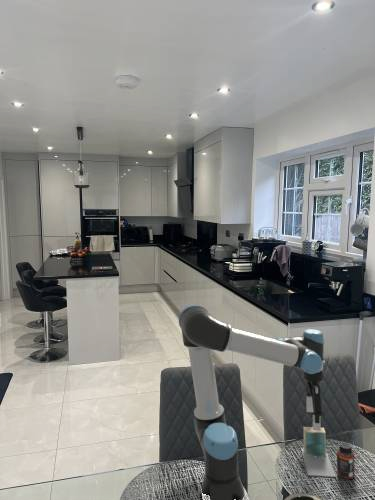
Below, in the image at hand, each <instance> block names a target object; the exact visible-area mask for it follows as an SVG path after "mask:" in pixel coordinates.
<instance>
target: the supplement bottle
mask: <svg viewBox="0 0 375 500" xmlns="http://www.w3.org/2000/svg"><path fill="white" fill-rule="evenodd" d="M336 471H337V474H338V475H339V477H341V478H343V479H345V480H351V479H354V477H355V471H356V470H355V452H354V451H353V450H352V445H351V444H350V443H348V442H345V441H344V442H340V443H339V447H338V449H337V450H336Z"/></svg>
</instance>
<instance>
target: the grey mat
mask: <svg viewBox="0 0 375 500" xmlns="http://www.w3.org/2000/svg"><path fill="white" fill-rule="evenodd" d="M300 451H302V452H301V455H302V458H303V463H304V467H305V470H306V474H307V476H308V477H309V476H310V477H321V476H322V477H321V478H323V477H324V478H325V477H326V478H336V477H337V475H336V473H335V470H334V467H333V465H332V462H331V459H330V456H329V454H328V452H327V453H326V456H327V457H324V458H325V459H324V458H322V457H323V456H322V457H321V456H316V457H315V456H306V455H305V453H304V447H301V448H300Z"/></svg>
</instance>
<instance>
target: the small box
mask: <svg viewBox="0 0 375 500" xmlns="http://www.w3.org/2000/svg"><path fill="white" fill-rule="evenodd" d="M302 430H303V448H304V453H305V455H306V456H323V457H326V451H327V446H326V445H327V444H326V443H327V439H326V438H327V435H326V434H327V433H326V430H325V427H321V431H318V430H313V426H303V429H302Z"/></svg>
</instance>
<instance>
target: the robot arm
mask: <svg viewBox="0 0 375 500" xmlns="http://www.w3.org/2000/svg"><path fill="white" fill-rule="evenodd" d="M178 326H179V327H180V329H181V335H182V336H181V337H182V341H183V342H182V343H183V346H184V347H186V348H187V349H188V355H189V362H190V368H191V375H192V382H193V389H194V395H195V403H196V406H195V408H194V410H193V416H194V418H193V427H194V430H195V433H196V436H197V437H198V442H199V443H200V447H201V450H202V452H203V457H204V476H203V480H202V484H201V486H202V487H200V489H201V488H202V493H203V494H206V495H209V496H210V499H211V500H234V499H236V500H242V499H243V497H244V498H245V489H244V486H243V485H244V484H243V483H242V480H241V477H240V475H239V449H238V448H239V440H238V435H237V432H236V430H235V429H234V428H233V427H232V426H231V425H227V422H226V415H225V414H226V413H225V408H224V406H223V404H220V401H219V394H218V387H217V380H216V373H215V365H214V358H213V351H216V352H221V353H224V352H226V351H229V352H234V353H238V354H240V355H241V354H242V355H245V356H249V357H253V358H257V359H261V360H266V361H269V362H272V363H273V362H274V363H276V364H282V365H285V366H289V367H293V368H297V369H299V370H302V371H303V379H304V380H306V384H305V392H306V393H305V394H306V412H307V413H311V415H312V427H313V430H318V431H321V428H322V427H321V425H322V424H321V422H322V421H321V420H322V419H321V418H322V416H323V412H322V410H323V409H322V400H321V388H320V384H319V382H322V381H323V380H324V364H325V363H326V361H325V360H324V346H325V345H324V343H325V342H324V341H325V339H324V333H323V332H322V331H320V330H318V329H312V328H311V329H310V328H309V329H305V330H303V334H302V335H300V336H292V337H291V336H289V337H280V338H276V339H275V338H271V337H267V336H263V335H260V334H255V333H253V332H248V331H245V330H241V329H237V328H232V326H231V324H229V323H226V322H223V321H220V320H218V319H216V318H215V317H214V316H212V315H211V313H209V311H208V310H207V309H206V308H205V307H203V306H201V305H199V304H198V305H197V304H191V305H187V306H185V308H183V309H182V310H181V312H180V314H179V316H178ZM212 350H213V351H212Z"/></svg>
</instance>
